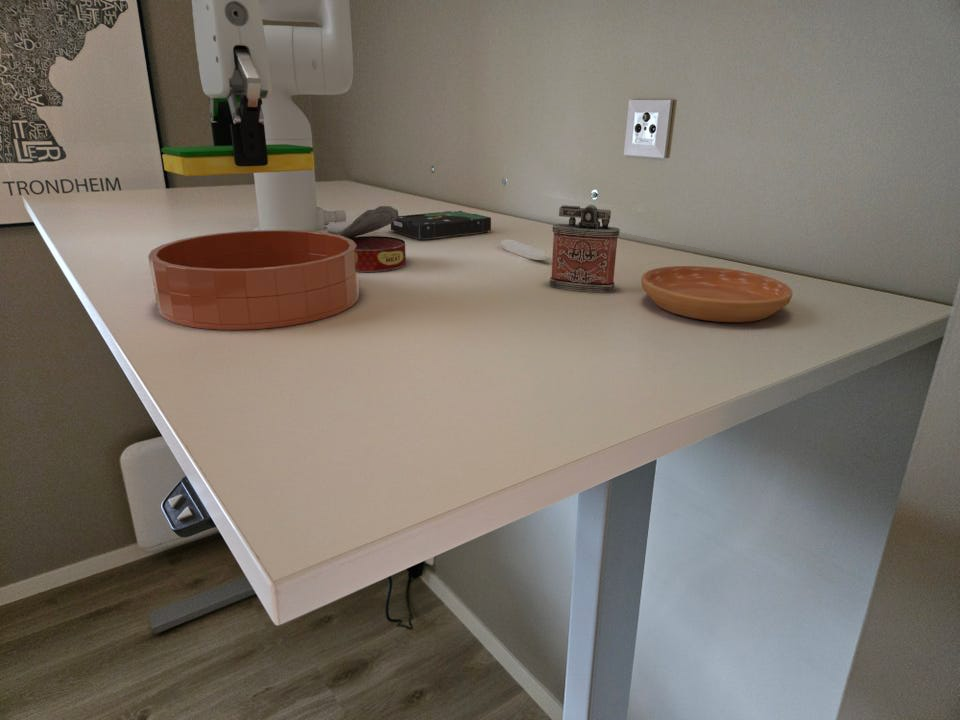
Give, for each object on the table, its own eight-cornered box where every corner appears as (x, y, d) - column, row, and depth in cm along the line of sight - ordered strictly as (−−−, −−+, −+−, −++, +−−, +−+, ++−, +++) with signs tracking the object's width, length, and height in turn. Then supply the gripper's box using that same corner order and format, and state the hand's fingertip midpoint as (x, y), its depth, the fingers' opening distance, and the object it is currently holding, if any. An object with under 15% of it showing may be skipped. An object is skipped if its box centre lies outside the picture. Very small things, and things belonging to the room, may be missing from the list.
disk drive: (420, 242, 107) (492, 232, 115) (420, 225, 106) (492, 216, 114) (389, 232, 114) (458, 223, 123) (388, 216, 113) (458, 208, 122)
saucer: (738, 286, 82) (742, 263, 81) (820, 325, 68) (826, 298, 67) (618, 290, 80) (620, 266, 79) (676, 332, 65) (680, 303, 64)
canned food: (353, 304, 88) (313, 243, 83) (351, 278, 97) (314, 221, 92) (426, 265, 88) (390, 200, 83) (417, 242, 97) (384, 183, 92)
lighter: (615, 287, 81) (623, 205, 77) (611, 294, 78) (619, 209, 75) (552, 281, 84) (557, 201, 80) (546, 287, 81) (550, 205, 77)
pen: (545, 266, 91) (546, 254, 91) (498, 247, 103) (498, 237, 102) (555, 265, 92) (555, 253, 91) (507, 246, 103) (507, 236, 103)
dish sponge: (316, 170, 71) (314, 146, 70) (184, 176, 63) (180, 150, 62) (288, 165, 76) (286, 144, 76) (163, 171, 68) (160, 147, 67)
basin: (319, 268, 88) (315, 224, 86) (390, 308, 71) (388, 254, 69) (143, 291, 77) (134, 240, 75) (180, 344, 60) (170, 281, 58)
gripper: (285, -37, 58) (302, 167, 65) (235, -10, 72) (253, 157, 78) (197, -48, 54) (224, 170, 61) (161, -18, 68) (187, 158, 74)
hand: (240, 161), depth 69 cm, fingers closed on dish sponge, 7 cm apart
